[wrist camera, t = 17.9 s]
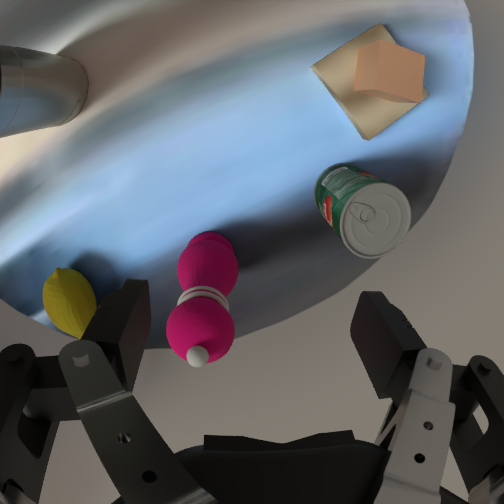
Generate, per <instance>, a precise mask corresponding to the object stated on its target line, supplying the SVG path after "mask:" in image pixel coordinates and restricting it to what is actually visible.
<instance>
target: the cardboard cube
mask: <svg viewBox="0 0 504 504" xmlns="http://www.w3.org/2000/svg"><path fill="white" fill-rule="evenodd" d="M425 57H426V56H424V55H422V54H419V53H417V52H414V51H412V50H409V49H407V48H404V47H402V46H399V45H396V44H393V43H390V42H388V41H385V40H382V39H379V40H376V41H374V42H371V43H369V44H367V45H364V46H362V47H359V48H358V56H357V65H356V73H355V81H354V89H353V91H355V92H359V93H363V94H367V95H370V96H374V97H378V98H381V99H385V100H388V101H391V102H395V103H421V96H422V88H423V79H424V69H425Z"/></svg>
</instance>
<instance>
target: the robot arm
mask: <svg viewBox="0 0 504 504" xmlns="http://www.w3.org/2000/svg"><path fill="white" fill-rule="evenodd" d="M87 90H88V79H87V75H86V72H85V70H84V68H83V67H82V66H81V65H80V64H79V63H78V62H77V61H75V60H73V59H69V58H65V57H61V56H57V55H55V54H51V53H46V52H41V51H36V50H31V49H26V48H20V47H11V46H5V45H0V138H2V137H6V136H11V135H15V134H19V133H24V132H29V131H34V130H39V129H44V128H49V127H54V126H60V125H63V124H65V123H67V122H69V121H70V120H72V119H73V118H74V117H75V116H76V115H77V114H78V112H79V111H80V110H81V108H82V106H83V104H84V102H85V99H86V96H87ZM150 328H151V307H150V296H149V284H148V281H147V280H144V279H132V278H127V279H126V281H125V283H124V285H123V287H122V288H121V290H120V291H115V290H113V291H112V292H110V293H109V294H108V295H106V296H105V297H104V298H103V299H102V301H101V303H100V304H99V306H98V308H97V310H96V311H95V313H94V315H93V317H92V319H91V320H90V322H89V324H88V326H87V328H86V330H85V331H84V333H83V335H82V337H81V339H80V340H77V341H73V342H71V343H69V344H67V345H66V346H64V347H63V348H62V350H61V351H60V353H59V355H58V356H46V357H45V356H44V357H36V356H35V353H34V351H33V349H32V348H31V347H30V346H28V345H25V344H13V345H11V346H8V347H6V348H5V349H3V350H2V351H1V352H0V504H38V503H39V498H40V493H41V489H42V485H43V480H44V477H45V472H46V469H47V465H48V461H49V457H50V453H51V450H52V446H53V443H54V439H55V436H56V433H57V429H58V426H59V423H60V421H68V420H81V421H82V424H83V425H84V428H85V430H86V432H87V434H88V436H89V439H90V441H91V443H92V445H93V446H94V449H95V451H96V453H97V455H98V456H99V458H100V460H101V462H102V464H103V466H104V468H105V469H106V471H107V473H108V475H109V476H110V478H111V480H112V482H113V483H114V485H115V487H116V488H117V490H118V492H119V494H120V495H121V496H120V497H119V498H118V499H116V500H115V501H114V502H113V503H111V504H504V375H503V374H502V373H501V371H500V370H499V368H498V367H497V365H496V364H495V363H494V362H493V361H492V360H490V359H489V358H487V357H485V356H481V355H476V356H473V357H472V358H471V359H470V361H469V363H468V365H467V366H461V365H454V364H452V362H451V360H450V358H449V357H448V356H447V355H446V354H444V353H443V352H441V351H439V350H437V349H433V348H427V346H426V345H425V344H424V342H423V341H422V339H421V338H420V336H419V335H418V333H417V332H416V330H415V329H414V328H412V325H411V323H410V322H409V321H407V318H406V316H405V315H404V314H403V312H402V311H401V310H399V309H398V308H397V307H395V306H394V305H393V304H390V302H389V301H388V300H387V298H386V297H385V295H384V294H383V293H382V292H380V291H363V292H362V293H361V295H360V297H359V300H358V304H357V307H356V310H355V313H354V316H353V320H352V323H351V328H350V333H351V338H352V341H353V343H354V344H355V347H356V349H357V351H358V354H359V356H360V357H361V360H362V362H363V364H364V367H365V369H366V371H367V373H368V375H369V378H370V380H371V382H372V384H373V387H374V389H375V391H376V393H377V396H378V398H379V399H384V398H392V402H391V404H390V406H389V408H388V411H387V413H386V416H385V418H384V421H383V424H382V426H381V428H380V431H379V433H378V435H377V438H376V440H375V442H374V444H373V443H369V442H366V441H361V440H355V438H354V435H353V432H352V430H347V431H337V432H329V433H319V434H315V435H312V436H308V437H305V438H302V439H298V440H295V441H291V442H288V443H274V442H269V441H263V440H258V439H254V438H248V437H244V436H218V435H204V445H199V446H194V447H190V448H187V449H184V450H181V451H179V452H177V453H175V454H174V453H173V452H172V450H171V449H170V448H169V447H168V445H167V444H166V443H165V441H164V440H163V438H162V437H161V436H160V434H159V433H158V431H157V430H156V429H155V427H154V426H153V424H152V423H151V422H150V420H149V418H148V417H147V416H146V414H145V413H144V411H143V410H142V408H141V407H140V405H139V403H138V402H137V400H136V399H135V397H134V396H133V394H132V391H133V387H134V384H135V380H136V376H137V373H138V369H139V366H140V362H141V359H142V355H143V352H144V349H145V346H146V342H147V339H148V336H149V332H150ZM479 404H480V406H481V407H482V409H483V411H484V413H485V414H486V416H487V418H488V422H489V426H488V430H487V432H486V433H485V434H484V435H483V433H482V431H481V429H480V427H479V425H478V423H477V421H476V419H475V417H474V415H473V412H474V411H475V410H476V408H477V407H478V406H479ZM449 446H450V448H451V451H452V453H453V455H454V458H455V460H456V463H457V465H458V468H459V470H460V473H461V475H462V478H463V480H464V483H465V486H466V488H467V491H468V494H469V497H468V502H466V501H465V500H463V499H461V498H460V497H458V496H456V495H455V494H453V493H451V492H450V491H448V490H447V489H445V488H443V487H442V486H440V483H441V479H442V475H443V472H444V467H445V463H446V458H447V454H448V449H449Z"/></svg>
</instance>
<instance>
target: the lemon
mask: <svg viewBox="0 0 504 504" xmlns="http://www.w3.org/2000/svg"><path fill="white" fill-rule="evenodd" d="M43 303H44V307H45V310H46V312H47V314H48V316H49V318H50V319H51V320H52V322H53V323H54V324H55V325H56V326H57V327H58V328H59V329H61V330H63V331H64V332H66V333H69V334H71V335H73V336H75V337H77V338H79V339H81V337H82V335H83V333H84V331H85V330H86V328H87V326H88V324H89V322H90V320H91V319H92V317H93V315H94V313H95V311H96V310H97V303H96V298H95V294H94V291H93V289H92V286H91V285H90V283H89V282H88V280H87V279H86V278H85V277H84V276H83V275H82V274H81V273H80V272H78V271H76V270H73V269H69V268H64V269H61V268H56V270H55V271H54V273H53V274H52V275H51V276H50V277H49V278H48V279H47V280H46V282H45V284H44V288H43Z"/></svg>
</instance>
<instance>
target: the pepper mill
mask: <svg viewBox="0 0 504 504" xmlns="http://www.w3.org/2000/svg"><path fill="white" fill-rule="evenodd" d="M238 270H239V269H238V262H237V259H236V257H235V255H234V250H233V247H232V245H231V243H230V241H229V240H228V239H227V238H226V237H224V236H223V235H221V234H219V233H215V232H204V233H200V234H198V235H196V236H195V237H194V238H192V239H191V241H190V242H189V244H188V246H187V248H186V249H185V250H184V251H183V253H182V254H181V256H180V258H179V262H178V271H177V272H178V278H179V281H180V284H181V287H182V288H183V290H184V293H183V294H182V295H181V296H180V298H179V300H178V305H177V306H176V307H175V308H174V310H173V311H172V312H171V314H170V316H169V319H168V322H167V329H166V330H167V338H168V341H169V344H170V346H171V348H172V349H173V350H174V352H175V353H176V354H178V355H179V356H180V357H181V358H183V359H184V360H187V361H188V362H189V363H190V365H192V366H194V367H202V366H204V365H205V364H206V363H210V362H213V361H216V360H218V359H220V358H221V357H223V356H224V355H225V354H226V353H227V352H228V350H229V349H230V347H231V345H232V343H233V339H234V334H235V330H234V323H233V320H232V317H231V315H230V314H229V304H228V301H227V300H226V298H225V297H226V296H227V295H228V294H229V293H230V292H231V290H232V289H233V287H234V285H235V283H236V281H237V277H238Z"/></svg>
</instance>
